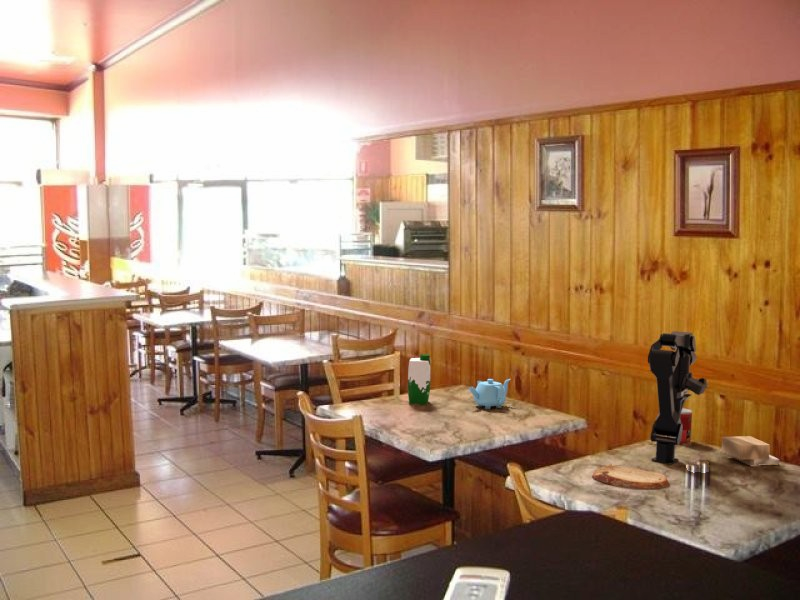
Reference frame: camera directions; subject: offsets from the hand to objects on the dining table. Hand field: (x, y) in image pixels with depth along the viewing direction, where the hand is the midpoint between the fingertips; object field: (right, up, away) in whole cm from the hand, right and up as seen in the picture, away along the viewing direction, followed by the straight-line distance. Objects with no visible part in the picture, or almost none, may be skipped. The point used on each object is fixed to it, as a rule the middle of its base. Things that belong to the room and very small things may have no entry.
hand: (678, 415), depth 288 cm
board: (+21, -13, -9) cm, 27 cm away
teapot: (-57, -5, +64) cm, 85 cm away
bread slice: (-25, -15, -34) cm, 45 cm away
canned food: (+5, -11, +14) cm, 19 cm away
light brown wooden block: (+14, -9, -11) cm, 20 cm away
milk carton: (-85, -4, +68) cm, 109 cm away
